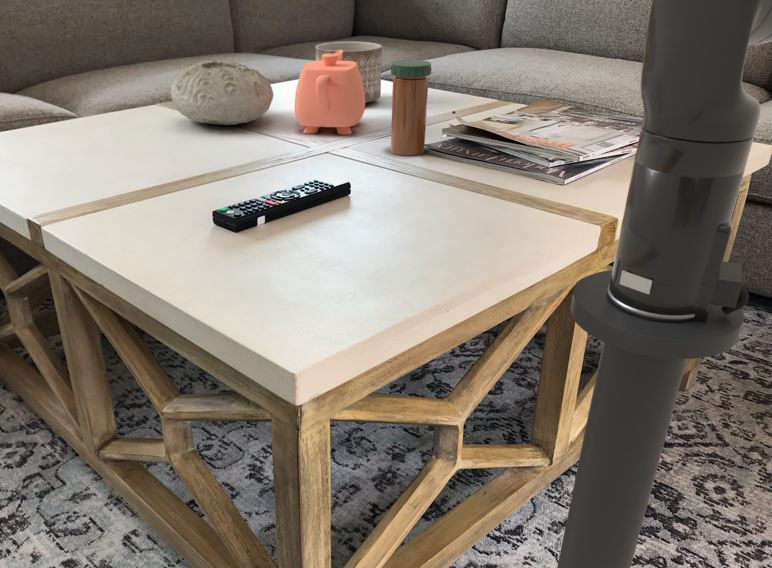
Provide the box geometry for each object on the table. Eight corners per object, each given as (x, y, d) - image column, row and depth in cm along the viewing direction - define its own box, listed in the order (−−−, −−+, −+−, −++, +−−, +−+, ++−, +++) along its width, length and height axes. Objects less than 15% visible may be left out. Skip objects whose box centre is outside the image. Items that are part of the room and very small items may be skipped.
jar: (428, 148, 115) (433, 66, 109) (418, 157, 111) (423, 72, 105) (396, 145, 117) (399, 64, 111) (385, 153, 112) (388, 70, 106)
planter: (380, 95, 150) (381, 41, 145) (380, 109, 139) (381, 50, 134) (318, 95, 151) (317, 41, 146) (313, 108, 140) (312, 51, 135)
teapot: (357, 142, 118) (358, 64, 112) (285, 140, 120) (282, 62, 114) (371, 115, 135) (372, 45, 129) (307, 113, 137) (306, 44, 131)
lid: (385, 75, 107) (385, 64, 106) (398, 69, 111) (399, 58, 111) (423, 78, 105) (424, 67, 104) (435, 71, 109) (436, 61, 108)
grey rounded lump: (284, 113, 137) (282, 56, 133) (260, 136, 122) (256, 73, 117) (193, 110, 140) (188, 54, 136) (158, 133, 125) (151, 71, 120)
